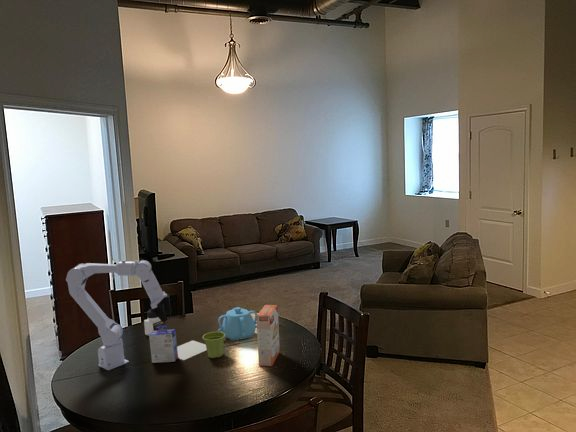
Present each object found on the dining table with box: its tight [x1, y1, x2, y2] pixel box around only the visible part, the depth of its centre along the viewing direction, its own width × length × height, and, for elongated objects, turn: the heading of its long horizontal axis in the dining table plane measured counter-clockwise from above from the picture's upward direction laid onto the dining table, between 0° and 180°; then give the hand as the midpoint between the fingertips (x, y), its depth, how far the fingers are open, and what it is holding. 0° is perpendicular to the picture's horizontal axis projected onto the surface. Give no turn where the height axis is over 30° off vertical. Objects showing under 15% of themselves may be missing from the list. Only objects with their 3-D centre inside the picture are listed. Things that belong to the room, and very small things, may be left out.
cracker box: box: [256, 304, 280, 367], centre depth 192 cm, size 14×6×21 cm, turn 168°
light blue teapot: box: [217, 306, 258, 342], centre depth 220 cm, size 16×16×14 cm
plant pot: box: [202, 331, 226, 359], centre depth 200 cm, size 9×9×9 cm
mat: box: [177, 339, 207, 361], centre depth 207 cm, size 16×14×1 cm
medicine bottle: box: [143, 309, 166, 337], centre depth 228 cm, size 7×7×12 cm
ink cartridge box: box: [148, 324, 178, 364], centre depth 197 cm, size 10×6×14 cm, turn 89°
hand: (167, 317), depth 196 cm, fingers open, 7 cm apart
